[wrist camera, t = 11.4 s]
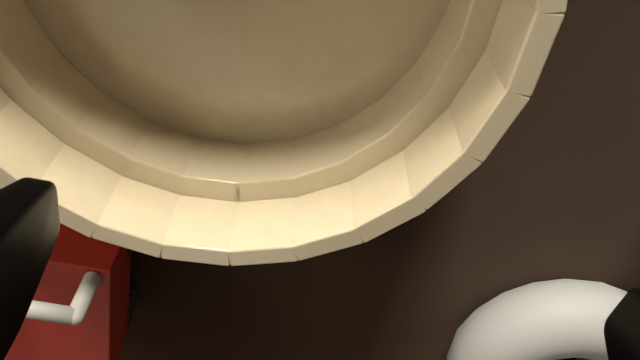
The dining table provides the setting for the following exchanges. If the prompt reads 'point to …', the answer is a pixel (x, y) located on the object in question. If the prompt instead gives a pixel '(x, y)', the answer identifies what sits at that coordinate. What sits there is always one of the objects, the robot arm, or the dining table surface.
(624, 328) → the robot arm
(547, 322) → the donut
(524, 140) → the dining table surface
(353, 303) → the dining table surface
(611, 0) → the dining table surface
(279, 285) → the dining table surface
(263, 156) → the bowl
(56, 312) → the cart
